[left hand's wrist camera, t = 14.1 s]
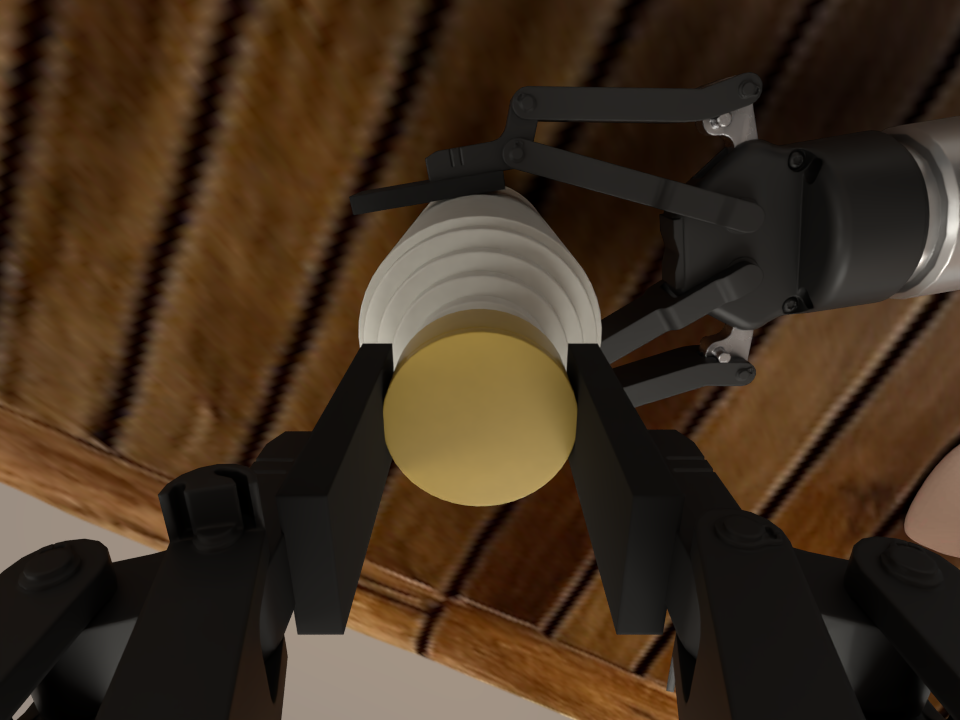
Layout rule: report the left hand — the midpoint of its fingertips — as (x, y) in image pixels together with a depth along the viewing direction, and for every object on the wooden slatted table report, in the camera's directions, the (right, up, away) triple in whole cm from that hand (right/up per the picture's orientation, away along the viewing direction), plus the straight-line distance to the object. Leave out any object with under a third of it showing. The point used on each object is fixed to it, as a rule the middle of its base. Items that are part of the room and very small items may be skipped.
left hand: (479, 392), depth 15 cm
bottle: (0, +7, +17) cm, 19 cm away
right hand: (-5, +4, +12) cm, 13 cm away
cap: (0, -1, -1) cm, 2 cm away
